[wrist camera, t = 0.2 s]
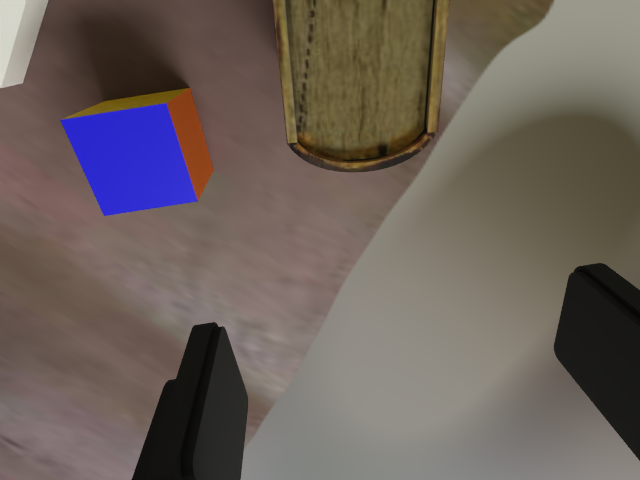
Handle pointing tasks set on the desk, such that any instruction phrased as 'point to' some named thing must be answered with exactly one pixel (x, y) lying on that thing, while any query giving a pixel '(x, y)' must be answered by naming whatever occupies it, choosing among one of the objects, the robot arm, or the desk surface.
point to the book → (360, 79)
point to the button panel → (18, 37)
